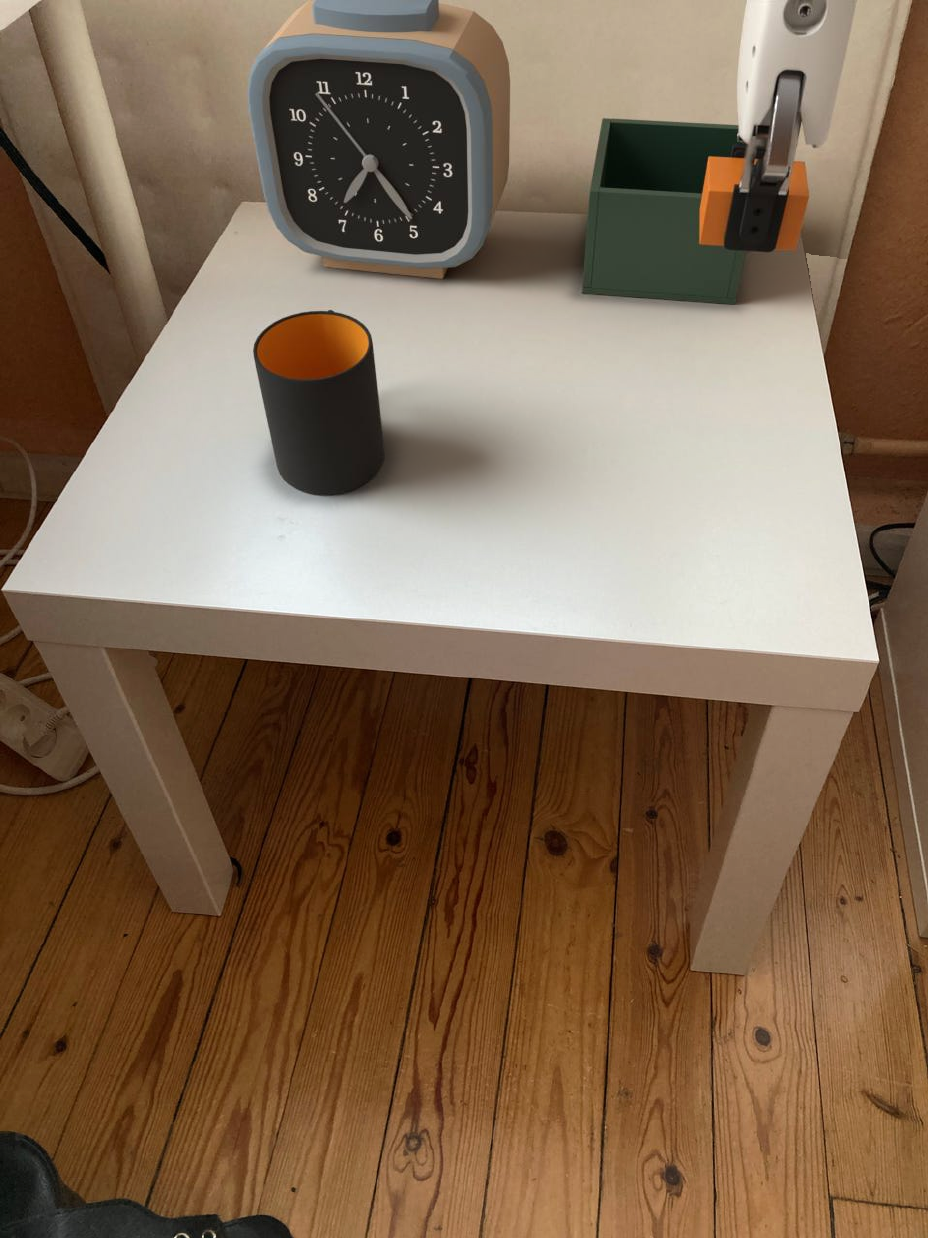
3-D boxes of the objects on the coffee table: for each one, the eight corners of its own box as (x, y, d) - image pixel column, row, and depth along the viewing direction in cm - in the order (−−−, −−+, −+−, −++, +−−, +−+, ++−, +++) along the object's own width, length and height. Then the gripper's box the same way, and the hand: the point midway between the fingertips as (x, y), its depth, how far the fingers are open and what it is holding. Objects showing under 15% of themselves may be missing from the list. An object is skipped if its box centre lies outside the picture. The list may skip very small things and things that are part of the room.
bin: (734, 225, 99) (754, 125, 92) (735, 304, 91) (756, 201, 83) (594, 216, 101) (602, 117, 94) (581, 293, 92) (589, 190, 85)
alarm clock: (274, 267, 96) (229, 16, 80) (305, 216, 102) (269, -28, 86) (488, 289, 93) (488, 33, 77) (508, 235, 99) (511, -14, 82)
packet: (699, 209, 68) (708, 155, 65) (791, 214, 67) (805, 161, 65) (699, 244, 65) (708, 190, 62) (795, 250, 65) (809, 196, 62)
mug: (395, 395, 83) (385, 282, 76) (377, 497, 76) (364, 382, 68) (295, 393, 84) (274, 280, 76) (267, 493, 76) (241, 379, 68)
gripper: (915, -47, 46) (815, 305, 60) (877, -154, 57) (799, 167, 71) (747, -53, 47) (687, 296, 61) (739, -157, 58) (690, 161, 72)
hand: (748, 224), depth 66 cm, fingers closed on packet, 4 cm apart
